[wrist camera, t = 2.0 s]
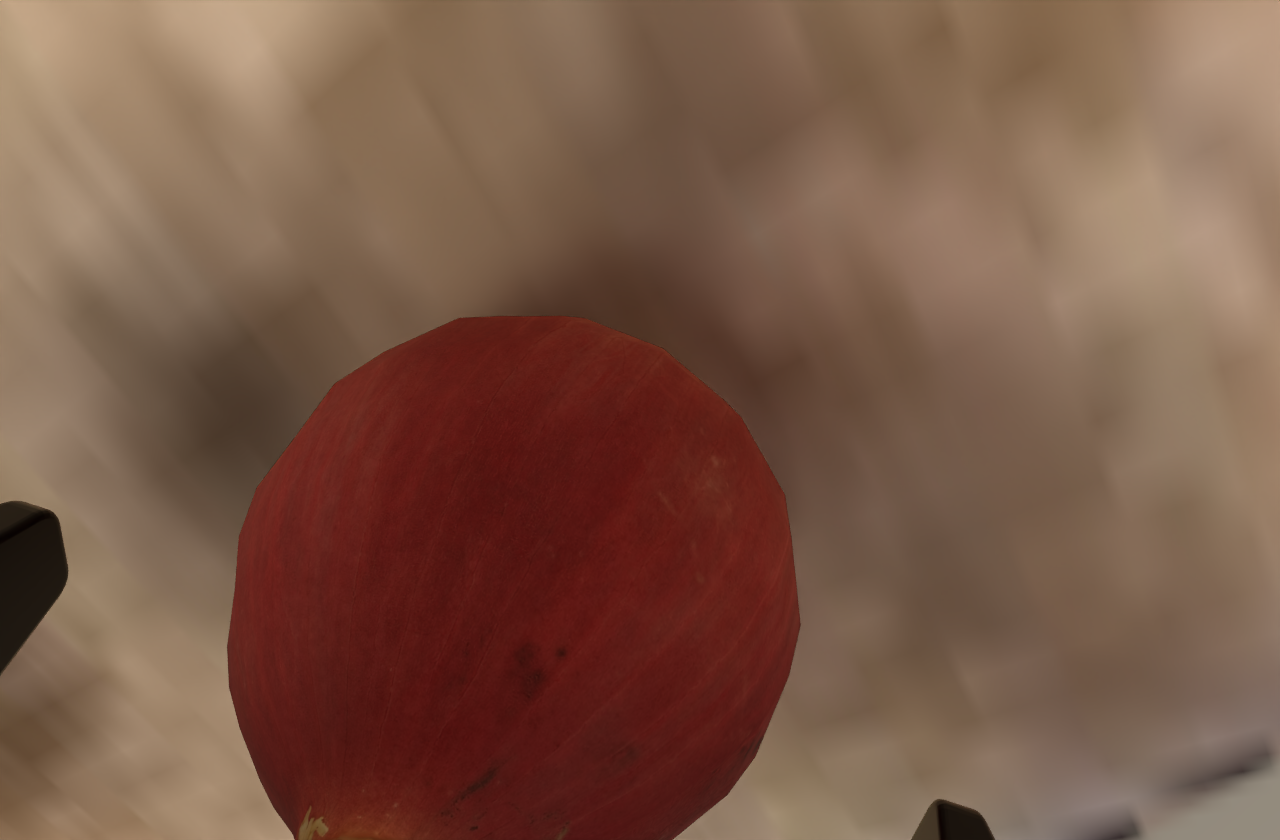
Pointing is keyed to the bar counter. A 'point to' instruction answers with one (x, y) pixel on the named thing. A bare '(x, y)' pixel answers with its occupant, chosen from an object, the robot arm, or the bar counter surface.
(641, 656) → the onion
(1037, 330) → the bar counter surface
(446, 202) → the bar counter surface
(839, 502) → the bar counter surface
